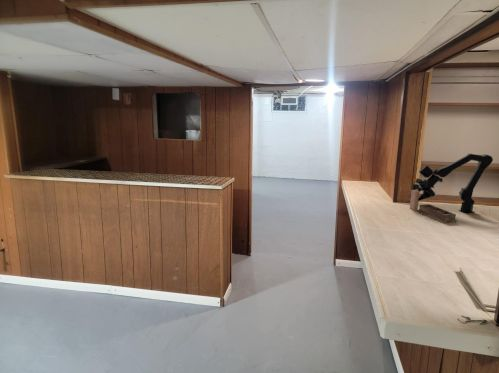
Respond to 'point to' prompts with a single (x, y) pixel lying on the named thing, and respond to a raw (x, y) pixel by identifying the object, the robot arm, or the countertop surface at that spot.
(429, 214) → the compartment tray
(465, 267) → the countertop surface
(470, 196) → the robot arm
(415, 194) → the clay block
